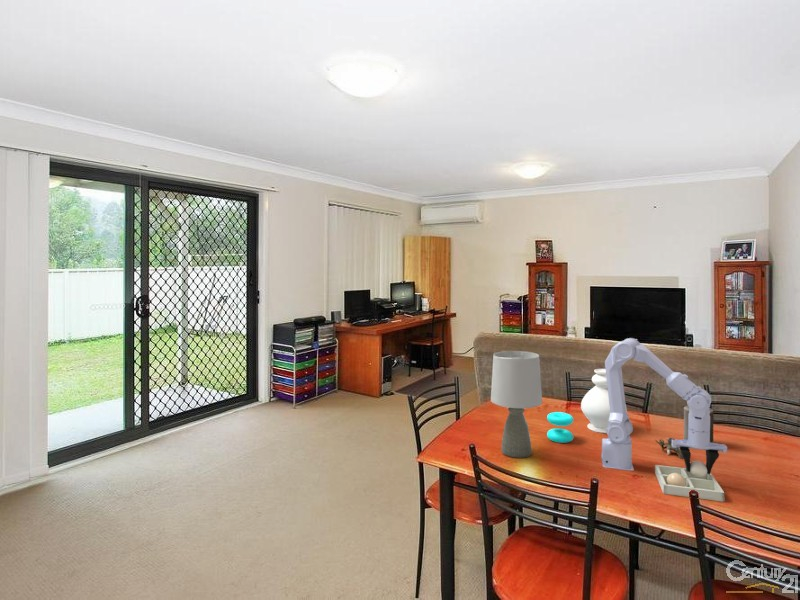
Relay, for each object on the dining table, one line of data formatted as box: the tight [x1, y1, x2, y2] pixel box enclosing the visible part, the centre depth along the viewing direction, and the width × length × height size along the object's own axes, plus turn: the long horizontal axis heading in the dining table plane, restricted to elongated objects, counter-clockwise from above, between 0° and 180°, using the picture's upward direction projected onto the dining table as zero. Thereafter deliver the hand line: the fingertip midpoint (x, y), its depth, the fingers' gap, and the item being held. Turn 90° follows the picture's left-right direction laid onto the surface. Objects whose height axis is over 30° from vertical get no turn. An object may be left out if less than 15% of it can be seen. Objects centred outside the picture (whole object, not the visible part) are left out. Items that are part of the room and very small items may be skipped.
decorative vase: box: [580, 368, 628, 434], centre depth 196 cm, size 18×18×25 cm
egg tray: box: [654, 464, 725, 503], centre depth 142 cm, size 15×15×3 cm
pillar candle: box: [683, 405, 715, 443], centre depth 177 cm, size 10×10×15 cm
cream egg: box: [690, 460, 708, 478], centre depth 144 cm, size 5×5×5 cm
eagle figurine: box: [654, 436, 684, 460], centre depth 168 cm, size 8×7×9 cm
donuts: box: [546, 411, 574, 444], centre depth 184 cm, size 10×10×10 cm
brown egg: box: [667, 473, 686, 487], centre depth 140 cm, size 5×5×5 cm
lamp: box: [490, 350, 543, 459], centre depth 171 cm, size 19×19×37 cm
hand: (698, 471), depth 144 cm, fingers closed on cream egg, 5 cm apart
